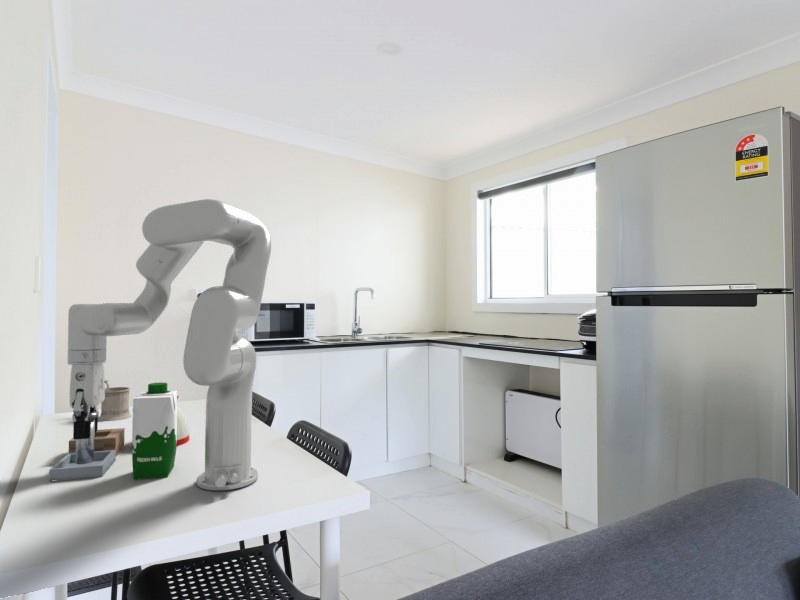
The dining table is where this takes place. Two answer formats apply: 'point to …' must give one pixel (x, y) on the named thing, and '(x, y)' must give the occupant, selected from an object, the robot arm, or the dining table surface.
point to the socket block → (104, 440)
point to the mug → (115, 404)
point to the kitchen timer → (181, 428)
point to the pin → (86, 443)
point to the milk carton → (154, 432)
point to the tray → (82, 466)
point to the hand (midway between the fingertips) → (85, 434)
